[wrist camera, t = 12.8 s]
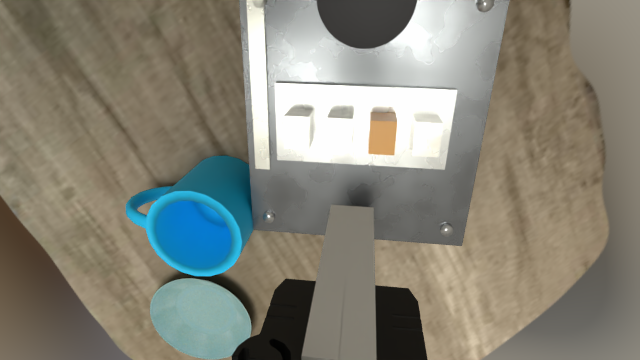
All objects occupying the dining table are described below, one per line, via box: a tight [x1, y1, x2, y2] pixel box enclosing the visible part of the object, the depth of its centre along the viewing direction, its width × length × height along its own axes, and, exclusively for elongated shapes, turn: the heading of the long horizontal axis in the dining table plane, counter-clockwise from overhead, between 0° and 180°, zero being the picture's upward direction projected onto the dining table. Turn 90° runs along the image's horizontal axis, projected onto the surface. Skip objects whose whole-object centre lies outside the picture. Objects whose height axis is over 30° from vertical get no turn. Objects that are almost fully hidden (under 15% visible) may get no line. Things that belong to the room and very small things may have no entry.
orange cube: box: [368, 112, 398, 155], centre depth 27 cm, size 2×2×2 cm
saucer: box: [150, 278, 252, 359], centre depth 45 cm, size 12×12×2 cm
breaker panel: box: [239, 0, 509, 246], centre depth 30 cm, size 20×18×8 cm
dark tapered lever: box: [316, 0, 417, 49], centre depth 19 cm, size 3×3×16 cm
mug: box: [126, 156, 253, 276], centre depth 35 cm, size 12×8×8 cm
